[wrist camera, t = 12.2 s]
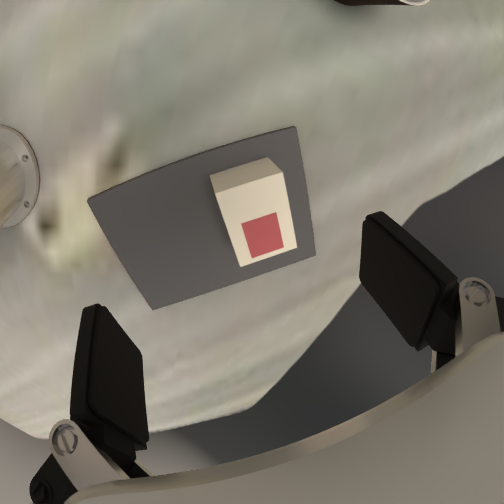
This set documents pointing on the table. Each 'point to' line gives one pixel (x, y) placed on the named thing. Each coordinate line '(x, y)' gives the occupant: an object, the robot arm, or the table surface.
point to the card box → (255, 210)
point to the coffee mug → (383, 2)
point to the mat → (197, 220)
